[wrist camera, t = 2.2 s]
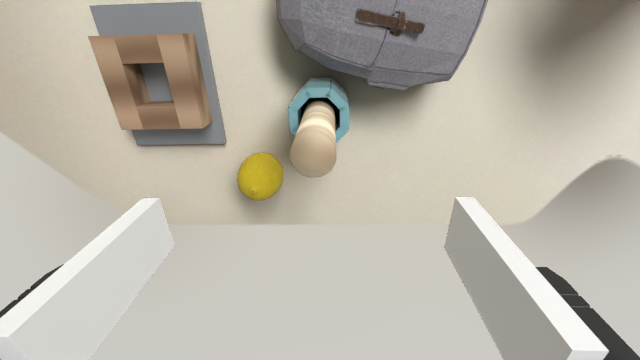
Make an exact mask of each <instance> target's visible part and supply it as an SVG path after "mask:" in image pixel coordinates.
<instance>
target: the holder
mask: <svg viewBox="0 0 640 360" xmlns="http://www.w3.org/2000/svg"><path fill="white" fill-rule="evenodd" d="M88 38H89V40H90V43H91V46H92V49H93V52H94V54H95V57H96V60H97V63H98V65H99V68H100V71H101V74H102V77H103V79H104V82H105V85H106V88H107V90H108V93H109V96H110V99H111V102H112V104H113V107H114V110H115V113H116V115H117V118H118V121H119V124H120V127H121V129H122V130H138V129H200V128H204V127H206V126H207V125H209V124H210V123H211V122H213V121H212V116H211V111H210V106H209V102H208V97H207V92H206V87H205V82H204V77H203V72H202V67H201V62H200V58H199V53H198V48H197V43H196V38H195V34H188V33H179V34H148V35H117V36H88ZM140 63H164V66H165V70H166V74H167V78H168V81H169V85H170V89H171V93H172V97H173V101H151V100H150V96H149V93H148V90H147V86H146V83H145V80H144V76H143V73H142V69H141V66H140Z"/></svg>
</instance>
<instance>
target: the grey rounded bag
mask: <svg viewBox="0 0 640 360" xmlns="http://www.w3.org/2000/svg"><path fill="white" fill-rule="evenodd" d="M487 2H488V0H276V4H277V15H278V20H279V22H280V24H281V26H282V28H283V29H284V31H285V33H286V35H287V37H288V39H289V40H290V42H291V44H292V46H293V48H294V50H295V51H300V52H302V53H303V54H305V55H307V56H309V57H310V58H312V59H314V60H315V61H317V62H319V63H320V64H322V65H324V66H325V67H327V68H329V69H333V70H336V71H340V72H343V73H347V74H351V75H354V76H358V77H362V78H364V79H365V82H366V83H367V84H369V85H372V86H375V87H377V86H380V87H386V88H393V89H399V90H406V89H408V88H409V87H410V86H416V85H422V84H429V83H435V82H441V81H448V80H450V78H451V77H452V76H453V75H454V73H455V71H456V70H457V68H458V67H459V65H460V63H461V62H462V60H463V58H464V57H465V55H466V53H467V51H468V49H469V46H470V44H471V42H472V40H473V38H474V36H475V33H476V31H477V29H478V27H479V25H480V23H481V20H482V17H483V14H484V11H485V8H486V5H487ZM380 87H378V88H380ZM382 89H383V88H382Z"/></svg>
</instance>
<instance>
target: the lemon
mask: <svg viewBox="0 0 640 360" xmlns="http://www.w3.org/2000/svg"><path fill="white" fill-rule="evenodd" d="M282 181H283V169H282V166H281V164H280V162H279V161H278V160H277V158H275V157H274V156H273V155H270V154H268V153H256V154H253V155H251V156H250V157H248V158H247V159H246V160H245V161H244V162H243V163H242V165H241V167H240V169H239V172H238V186H239V188H240V190H241V191H242V193H243V194H244V195H245V196H247V197H248V198H250V199H253V200H265V199H267V198H269V197H271V196H272V195H274V194H275V193H276V192H277V190H278V189H279V188H280V186H281V183H282Z"/></svg>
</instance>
